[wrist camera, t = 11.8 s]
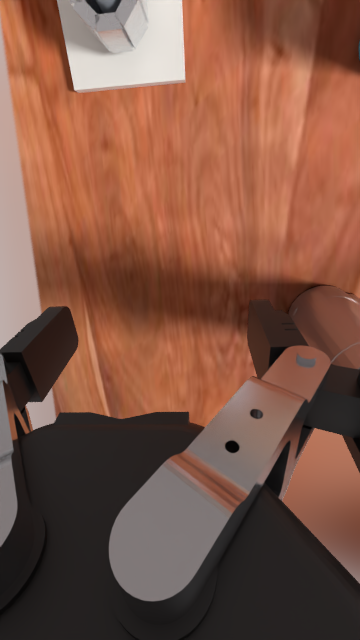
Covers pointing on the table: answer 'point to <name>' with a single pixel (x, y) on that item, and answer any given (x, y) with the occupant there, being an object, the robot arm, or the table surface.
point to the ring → (115, 23)
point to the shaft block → (127, 67)
